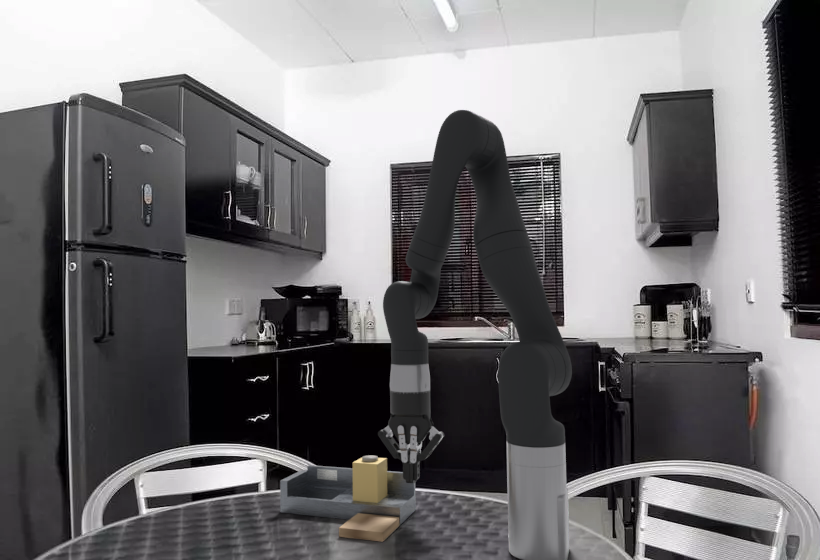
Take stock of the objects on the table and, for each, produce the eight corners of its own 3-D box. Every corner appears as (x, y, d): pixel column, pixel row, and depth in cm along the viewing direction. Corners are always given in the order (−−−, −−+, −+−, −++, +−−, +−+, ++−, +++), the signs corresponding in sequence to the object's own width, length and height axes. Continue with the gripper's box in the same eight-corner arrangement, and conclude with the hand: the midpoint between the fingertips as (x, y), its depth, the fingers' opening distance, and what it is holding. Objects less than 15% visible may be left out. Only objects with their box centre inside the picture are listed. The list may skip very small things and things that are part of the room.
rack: (415, 510, 117) (415, 473, 117) (400, 524, 109) (399, 485, 109) (302, 499, 125) (302, 464, 125) (280, 512, 117) (280, 475, 117)
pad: (399, 525, 108) (399, 517, 108) (382, 541, 101) (382, 532, 101) (358, 521, 111) (358, 513, 111) (339, 536, 103) (339, 527, 103)
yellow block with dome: (387, 495, 117) (387, 455, 117) (377, 502, 112) (377, 461, 112) (363, 493, 118) (363, 453, 119) (352, 500, 113) (352, 459, 114)
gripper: (449, 386, 115) (451, 479, 114) (384, 385, 119) (385, 474, 118) (438, 391, 108) (439, 490, 107) (369, 389, 112) (370, 484, 111)
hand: (411, 482), depth 113 cm, fingers closed
